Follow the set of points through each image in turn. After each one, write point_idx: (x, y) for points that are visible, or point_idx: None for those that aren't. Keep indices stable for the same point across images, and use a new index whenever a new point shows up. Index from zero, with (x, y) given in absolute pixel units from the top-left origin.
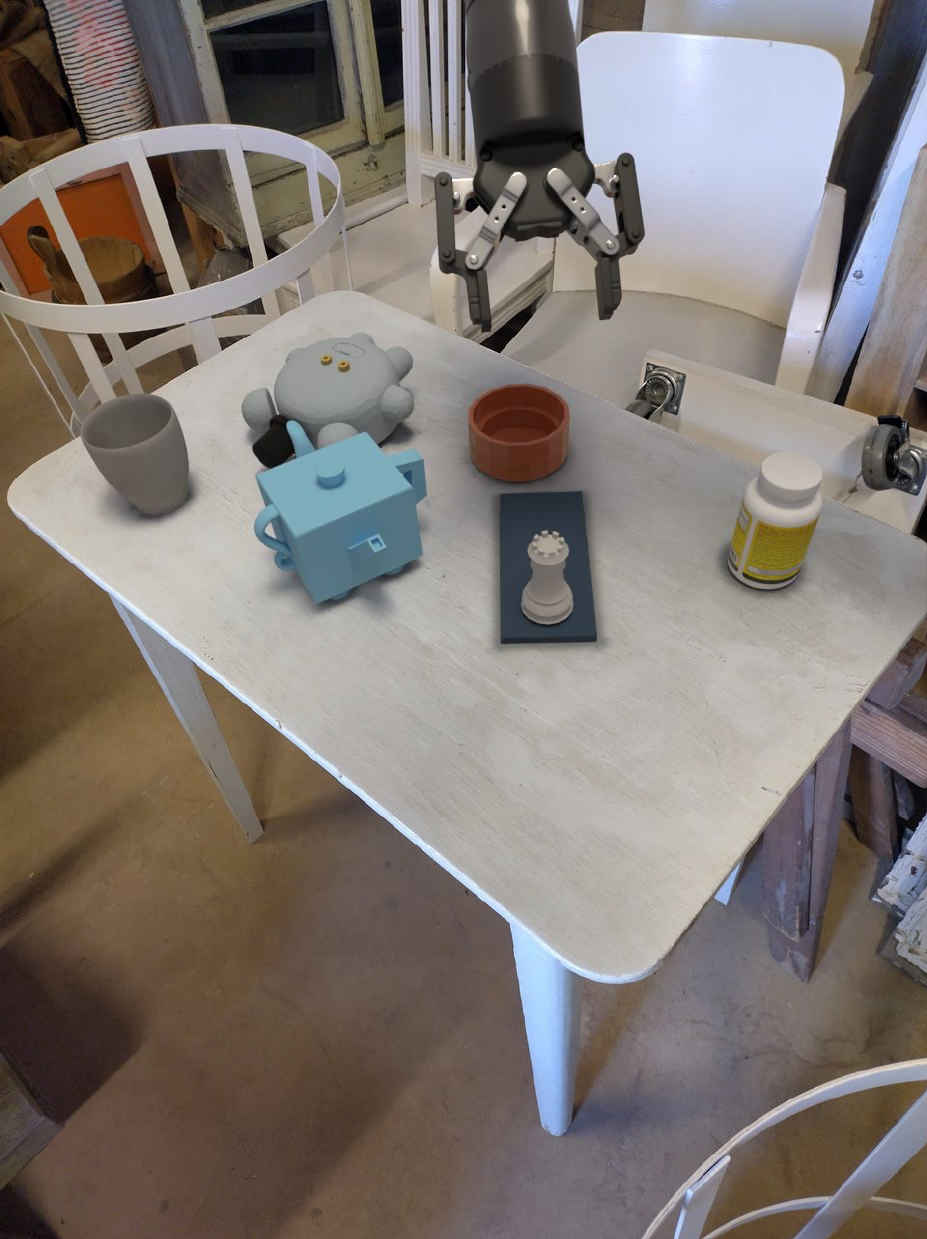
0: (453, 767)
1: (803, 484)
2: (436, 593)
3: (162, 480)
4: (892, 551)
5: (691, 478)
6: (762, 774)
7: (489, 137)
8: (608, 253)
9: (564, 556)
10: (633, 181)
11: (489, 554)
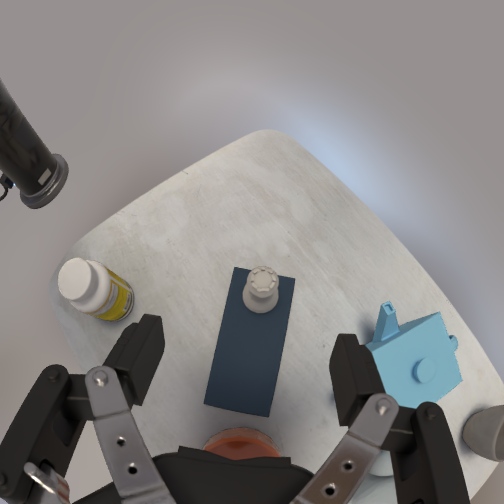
0: (329, 209)
1: (75, 261)
2: (330, 331)
3: (486, 413)
4: (54, 289)
5: None
6: (184, 179)
7: None
8: (111, 369)
9: (252, 270)
10: (8, 444)
11: (288, 361)
